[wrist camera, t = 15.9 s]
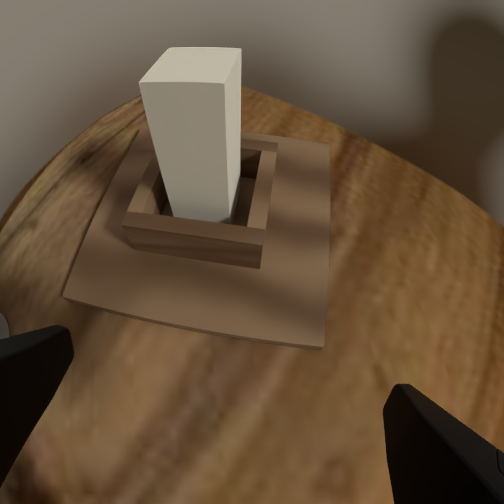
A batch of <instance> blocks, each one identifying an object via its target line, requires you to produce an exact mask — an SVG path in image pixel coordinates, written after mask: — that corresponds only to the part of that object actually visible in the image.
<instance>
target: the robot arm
mask: <svg viewBox="0 0 504 504" xmlns="http://www.w3.org/2000/svg"><path fill="white" fill-rule="evenodd" d="M73 357H74V350H73V344H72V339H71V333H70V331H69V329H68V328H66V327H63V326H60V325H53V326H50V327H46V328H42V329H38V330H34V331H31V332H27V333H23V334H19V335H15V336H11V337H8V338H4V339H0V487H1V485H2V484H3V482H4V480H5V478H6V476H7V474H8V472H9V471H10V469H11V467H12V465H13V463H14V461H15V460H16V458H17V456H18V454H19V453H20V451H21V449H22V447H23V446H24V444H25V442H26V441H27V439H28V437H29V436H30V434H31V432H32V431H33V429H34V427H35V426H36V424H37V422H38V421H39V419H40V418H41V416H42V414H43V413H44V411H45V410H46V408H47V407H48V405H49V403H50V402H51V400H52V398H53V397H54V395H55V393H56V391H57V389H58V387H59V385H60V383H61V381H62V379H63V377H64V375H65V373H66V371H67V370H68V368H69V366H70V364H71V362H72V360H73ZM383 420H384V431H385V443H386V455H387V463H388V469H389V474H390V480H391V486H392V492H393V498H394V504H504V453H503V452H502V451H500V450H499V449H496V447H495V446H493V445H492V444H491V443H489V442H488V441H486V440H485V439H484V438H482V437H481V436H480V435H478V434H477V433H475V432H474V431H473V430H471V429H470V428H469V427H467V426H466V425H464V424H463V423H462V422H460V421H459V420H458V419H456V418H455V417H453V416H452V415H451V414H449V413H448V412H447V411H445V410H444V409H443V408H441V407H440V406H439V405H437V404H436V403H434V402H433V401H432V400H430V399H429V398H428V397H426V396H425V395H424V394H422V393H421V392H420V391H418V390H417V389H416V388H414V387H413V386H412V385H410V384H396V385H395V386H394V387H393V389H392V391H391V393H390V395H389V397H388V399H387V401H386V403H385V405H384V408H383Z"/></svg>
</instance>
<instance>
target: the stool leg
mask: <svg viewBox="0 0 504 504" xmlns="http://www.w3.org/2000/svg"><path fill="white" fill-rule="evenodd" d="M139 86H140V90H141V95H142V99H143V104H144V108H145V112H146V116H147V120H148V124H149V128H150V132H151V136H152V140H153V144H154V148H155V152H156V156H157V159H158V163H159V167H160V170H161V174H162V178H163V181H164V185H165V188H166V192H167V195H168V199H169V202H170V206H171V209H172V212H173V216H174V217H179V218H186V219H194V220H201V221H209V222H216V223H224V224H231V225H232V223H233V219H234V215H235V210H236V206H237V201H238V197H239V193H240V129H241V49H238V48H217V47H175V48H168V49H167V51H166V52H165V53H164V54H163V55H162V56H161V57H160V58H159V59H158V60H157V62H156V63H155V64H154V65H153V66H152V67H151V68H150V70H149V71H148V72H147V73H146V75H145V76H144V77H143V78H142V79H141V80H140V82H139Z"/></svg>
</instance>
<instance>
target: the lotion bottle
mask: <svg viewBox="0 0 504 504" xmlns="http://www.w3.org/2000/svg"><path fill="white" fill-rule="evenodd" d="M8 337H9V328H8V324H7V321H6V319H5V317H4V316H3V315H2V314H1V313H0V339H4V338H8Z"/></svg>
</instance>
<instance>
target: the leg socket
mask: <svg viewBox="0 0 504 504" xmlns="http://www.w3.org/2000/svg"><path fill="white" fill-rule="evenodd" d="M329 250H330V148H329V144H323V143H317V142H312V141H306V140H299V139H293V138H286V137H279V136H272V135H264V134H256V133H247V132H240V193H239V197H238V201H237V206H236V210H235V215H234V219H233V223H232V225H231V224H224V223H216V222H209V221H201V220H194V219H186V218H179V217H174V216H173V212H172V209H171V206H170V202H169V199H168V195H167V192H166V188H165V185H164V181H163V178H162V174H161V170H160V167H159V163H158V159H157V156H156V152H155V148H154V144H153V140H152V136H151V132H150V128H149V126H142V128H141V129H140V131H139V133H138V134H137V136H136V138H135V139H134V141H133V143H132V145H131V146H130V148H129V150H128V152H127V153H126V155H125V157H124V159H123V161H122V162H121V164H120V166H119V168H118V170H117V172H116V173H115V175H114V177H113V179H112V181H111V183H110V185H109V187H108V189H107V191H106V193H105V195H104V197H103V199H102V201H101V203H100V205H99V207H98V209H97V212H96V214H95V216H94V218H93V220H92V222H91V225H90V227H89V229H88V231H87V234H86V236H85V238H84V241H83V243H82V245H81V248H80V250H79V253H78V255H77V258H76V260H75V263H74V265H73V268H72V271H71V273H70V276H69V279H68V281H67V284H66V287H65V290H64V292H63V295H62V297H63V298H64V299H66V300H67V301H69V302H73V303H76V304H80V305H83V306H87V307H91V308H94V309H98V310H102V311H106V312H110V313H114V314H118V315H122V316H126V317H130V318H134V319H139V320H143V321H148V322H152V323H157V324H161V325H166V326H171V327H175V328H180V329H185V330H191V331H196V332H201V333H207V334H212V335H218V336H224V337H229V338H236V339H242V340H248V341H255V342H262V343H269V344H276V345H283V346H291V347H300V348H308V349H317V350H321V349H322V348H323V347H324V339H325V326H326V312H327V296H328V276H329Z"/></svg>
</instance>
